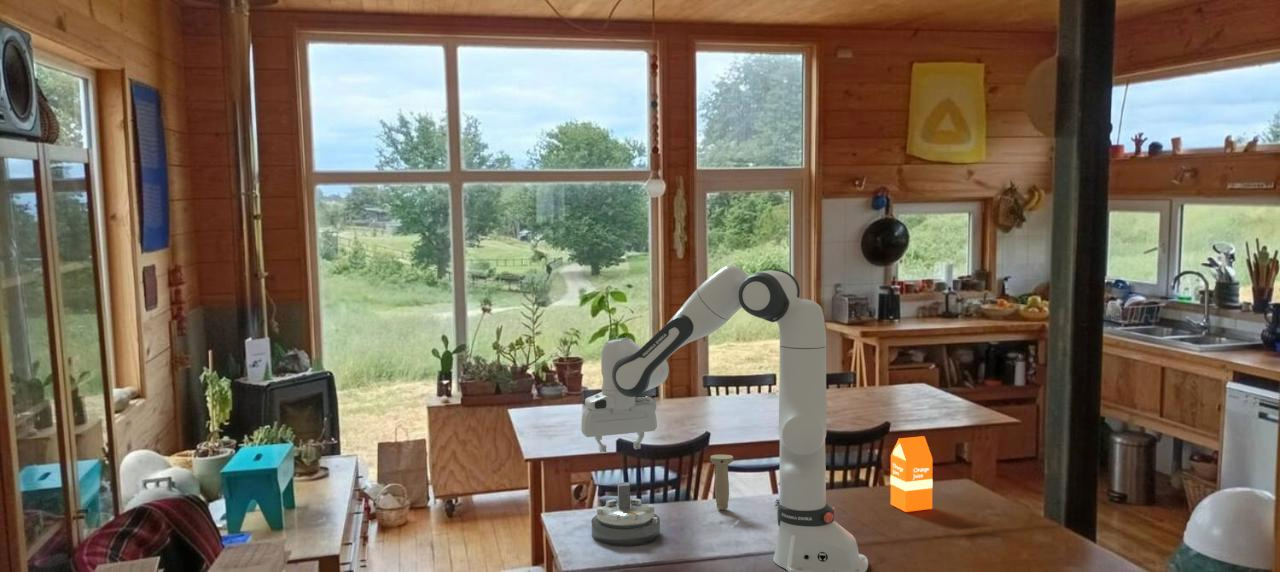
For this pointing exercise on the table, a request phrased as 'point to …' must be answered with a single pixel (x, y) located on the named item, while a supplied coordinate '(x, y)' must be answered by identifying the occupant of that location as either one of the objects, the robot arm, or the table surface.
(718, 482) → the handle
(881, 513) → the table surface
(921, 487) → the orange juice
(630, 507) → the round clock
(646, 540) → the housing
